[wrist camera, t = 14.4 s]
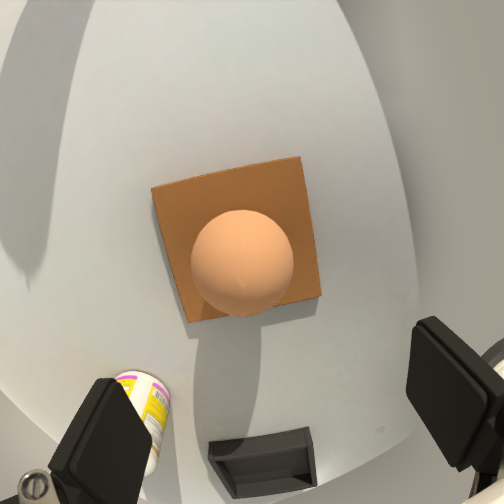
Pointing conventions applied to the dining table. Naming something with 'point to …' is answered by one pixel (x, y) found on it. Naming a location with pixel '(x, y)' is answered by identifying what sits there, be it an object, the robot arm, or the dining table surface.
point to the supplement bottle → (148, 408)
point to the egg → (242, 263)
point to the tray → (265, 463)
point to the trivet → (231, 199)
